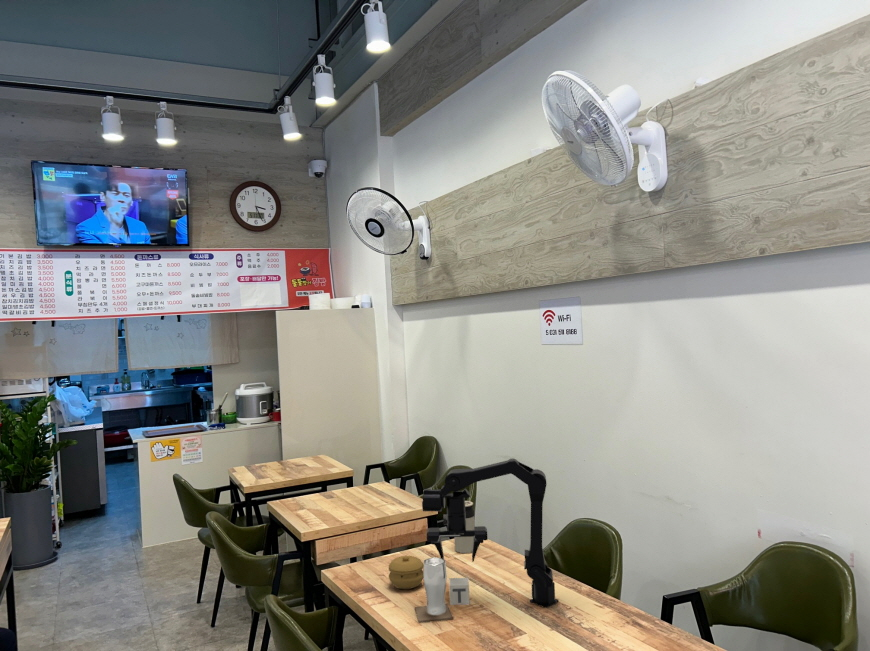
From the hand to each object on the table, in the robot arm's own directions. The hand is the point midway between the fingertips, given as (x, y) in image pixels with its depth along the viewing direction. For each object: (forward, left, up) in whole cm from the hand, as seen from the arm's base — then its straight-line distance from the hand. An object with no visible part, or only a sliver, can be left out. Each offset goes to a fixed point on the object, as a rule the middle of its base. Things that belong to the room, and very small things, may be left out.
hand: (458, 561), depth 201 cm
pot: (+21, +4, -12) cm, 25 cm away
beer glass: (-2, +11, -12) cm, 17 cm away
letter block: (0, 0, -12) cm, 12 cm away
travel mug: (+33, -34, -12) cm, 49 cm away
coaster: (-2, +12, -12) cm, 17 cm away
